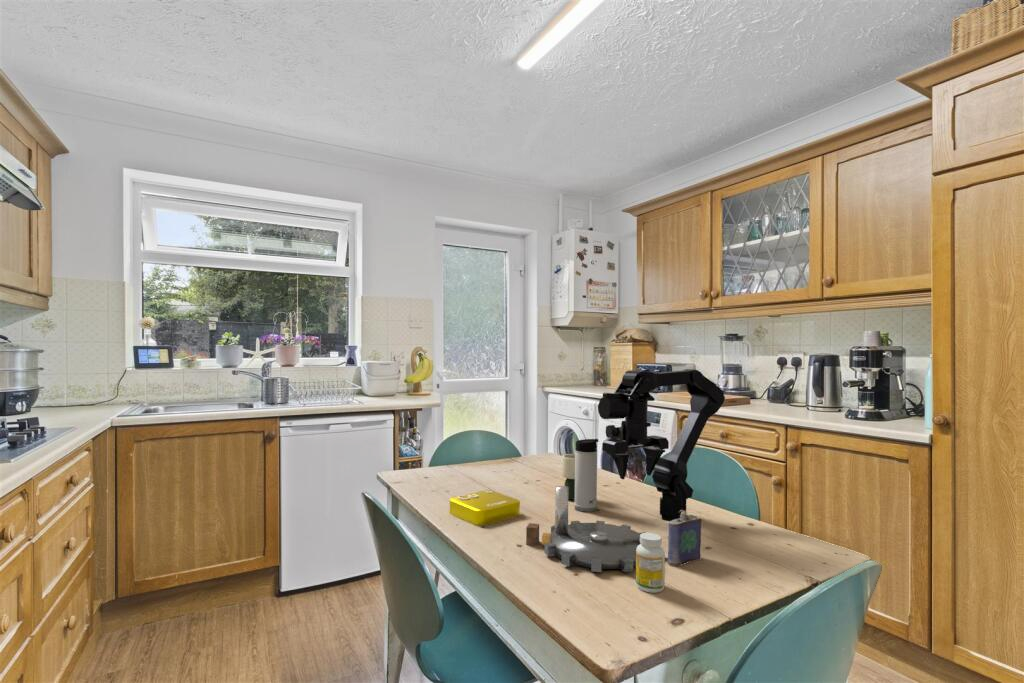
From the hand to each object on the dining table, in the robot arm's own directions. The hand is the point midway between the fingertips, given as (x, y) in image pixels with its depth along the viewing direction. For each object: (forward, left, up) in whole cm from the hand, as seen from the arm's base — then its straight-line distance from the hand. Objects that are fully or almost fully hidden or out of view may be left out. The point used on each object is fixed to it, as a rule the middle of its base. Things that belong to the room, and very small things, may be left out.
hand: (635, 477), depth 134 cm
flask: (-11, +22, -12) cm, 28 cm away
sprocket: (+7, +22, -12) cm, 26 cm away
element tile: (+40, +5, -13) cm, 43 cm away
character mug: (+19, -17, -12) cm, 28 cm away
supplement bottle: (-4, +37, -12) cm, 39 cm away
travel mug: (+14, -8, -12) cm, 20 cm away
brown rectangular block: (+23, +22, -12) cm, 34 cm away
